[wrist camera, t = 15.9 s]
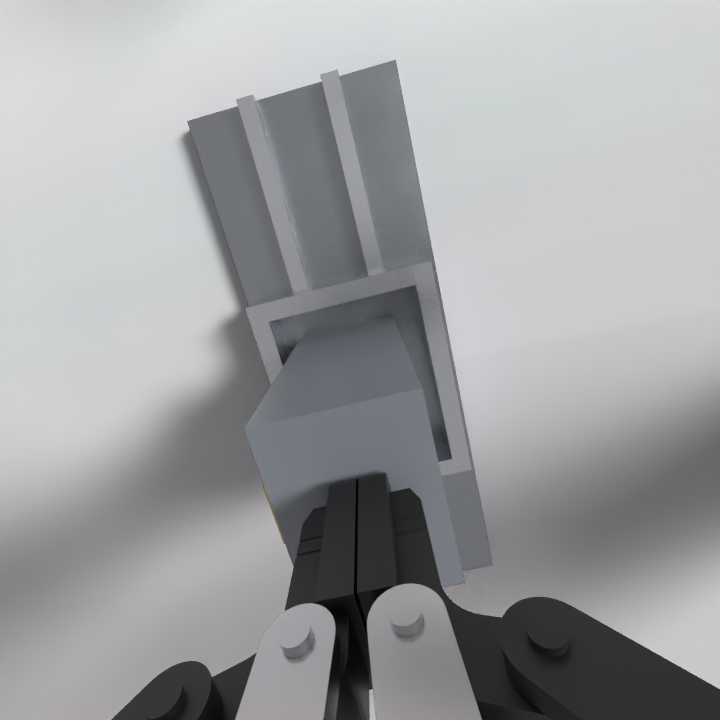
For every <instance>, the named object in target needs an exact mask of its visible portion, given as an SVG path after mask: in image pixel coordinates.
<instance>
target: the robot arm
mask: <svg viewBox="0 0 720 720" xmlns="http://www.w3.org/2000/svg"><path fill="white" fill-rule="evenodd" d="M299 541H300V544H298V549H297V558H296V559H295V564H294V569H293V574H292V578H291V583H290V588H289V593H288V598H287V603H286V607H285V612H283V613H282V614H281V615H279V616H278V617H277V618H276V619H275V620H274V621H273V622H272V623H271V624H270V625H269V627H268V628H267V630H266V631H265V633H264V635H263V637H262V639H261V641H260V644H259V647H258V650H257V653H256V654H254V655H253V656H251V657H250V658H248V659H246V660H245V661H243V662H241V663H239V664H237V665H235V666H233V667H231V668H229V669H227V670H225V671H224V672H222V673H220V674H218V675H216V676H214V677H212V676H211V674H210V672H209V670H208V669H207V667H206V666H205V665H203V664H202V663H200V662H197V661H188V662H183V663H179V664H177V665H174V666H172V667H170V668H169V669H167V670H165V671H164V672H162V673H161V674H159V675H158V676H157V677H156V678H154V679H153V680H152V681H151V682H150V683H149V684H148V685H147V686H146V687H145V688H144V689H143V690H142V691H141V692H140V693H139V694H138V695H136V696H135V697H134V698H133V699H132V700H131V701H130V702H129V703H128V704H127V705H126V706H125V707H124V708H123V709H122V710H121V711H120V712H119V713H118V714H117V715H116V716H115V717H114V718H113V719H112V720H369V719H370V715H369V690H370V689H373V696H374V706H375V717H376V720H720V689H718V688H716V687H715V686H713V685H711V684H709V683H707V682H706V681H704V680H702V679H700V678H699V677H697V676H695V675H693V674H691V673H690V672H688V671H686V670H684V669H683V668H681V667H679V666H677V665H675V664H674V663H672V662H670V661H668V660H667V659H665V658H663V657H661V656H659V655H658V654H656V653H654V652H652V651H651V650H649V649H647V648H645V647H643V646H642V645H640V644H638V643H636V642H635V641H633V640H631V639H629V638H627V637H626V636H624V635H622V634H620V633H619V632H617V631H615V630H613V629H611V628H610V627H608V626H606V625H604V624H603V623H601V622H599V621H597V620H595V619H594V618H592V617H590V616H588V615H587V614H585V613H583V612H581V611H579V610H578V609H576V608H574V607H572V606H571V605H568V604H566V603H564V602H562V601H559V600H556V599H552V598H547V597H531V598H527V599H523V600H521V601H518V602H516V603H515V604H513V605H512V606H511V607H510V608H509V609H508V610H507V611H506V612H505V614H504V615H503V618H501V617H494V616H486V615H480V614H475V613H472V612H469V611H466V610H464V609H462V608H460V607H459V606H458V605H456V604H455V603H453V602H452V601H451V600H450V599H449V598H448V596H447V595H446V594H445V592H444V590H443V588H442V586H441V582H440V577H439V573H438V569H437V565H436V560H435V556H434V552H433V548H432V543H431V539H430V535H429V531H428V527H427V523H426V519H425V514H424V510H423V506H422V502H421V499H420V498H419V497H418V496H417V495H416V494H415V493H414V492H413V491H412V490H411V489H410V488H407V489H402V490H397V491H393V492H391V488H390V485H389V481H388V477H387V474H386V472H385V473H381V474H376V475H372V476H367V477H363V478H359V480H358V479H354V480H349V481H345V482H340V483H336V484H331V485H330V486H329V492H328V499H327V506H323V507H319V508H314V509H313V510H312V511H311V513H310V514H309V516H308V517H307V519H306V520H305V522H304V523H303V525H302V530H301V535H300V540H299Z"/></svg>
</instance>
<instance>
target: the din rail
mask: <svg viewBox="0 0 720 720" xmlns="http://www.w3.org/2000/svg"><path fill="white" fill-rule="evenodd" d="M320 76H321V80H322V82H319V83H315V84H312V85H309V86H305V87H302V88H298V89H295V90H292V91H288V92H285V93H281V94H278V95H275V96H271V97H268V98H264V99H261V100H258V101H257V100H256V98H255V97H254V96H253V95H250V96H247V97H243V98H240V99H236V101H237V104H238V106H237V107H234V108H230V109H227V110H224V111H220V112H217V113H213V114H210V115H207V116H203V117H200V118H197V119H193V120H190V121H187V122H188V125H189V128H190V131H191V134H192V137H193V140H194V143H195V146H196V149H197V152H198V155H199V158H200V161H201V164H202V167H203V170H204V173H205V176H206V179H207V182H208V185H209V188H210V191H211V194H212V197H213V200H214V203H215V206H216V209H217V212H218V215H219V218H220V221H221V224H222V227H223V231H224V234H225V237H226V240H227V243H228V246H229V249H230V252H231V255H232V258H233V261H234V264H235V267H236V270H237V273H238V276H239V279H240V282H241V285H242V288H243V291H244V294H245V297H246V300H247V303H248V307H247V308H245V310H246V313H247V316H248V319H249V322H250V325H251V328H252V331H253V334H254V337H255V340H256V343H257V346H258V349H259V352H260V355H261V358H262V361H263V364H264V367H265V370H266V373H267V376H268V378H269V381H270V384H272V383H273V381H274V380H275V378H276V377H277V375H278V373H279V372H280V370H281V369H282V367H283V366H284V364H285V362H286V361H287V359H288V358H289V356H290V354H291V353H292V351H293V350H294V348H295V347H296V345H297V343H298V342H299V340H300V339H301V337H302V336H306V335H310V334H314V333H318V332H322V331H326V330H330V329H334V328H338V327H343V326H347V325H351V324H355V323H359V322H363V321H367V320H371V319H375V318H379V317H383V316H387V315H392V316H393V318H394V321H395V323H396V326H397V328H398V331H399V333H400V335H401V338H402V340H403V343H404V345H405V347H406V350H407V352H408V355H409V357H410V360H411V362H412V364H413V367H414V369H415V372H416V374H417V376H418V379H419V381H420V384H421V386H422V389H423V394H424V398H425V403H426V407H427V412H428V417H429V421H430V426H431V430H432V435H433V439H434V444H435V449H436V453H437V458H438V462H439V467H440V471H441V476H442V481H443V485H444V490H445V494H446V499H447V504H448V508H449V513H450V517H451V522H452V526H453V531H454V536H455V540H456V545H457V549H458V554H459V558H460V563H461V568H462V571H465V570H470V569H475V568H480V567H485V566H491V565H493V564H492V559H491V553H490V548H489V543H488V538H487V533H486V527H485V522H484V517H483V512H482V507H481V501H480V496H479V491H478V486H477V481H476V475H475V470H474V465H473V460H472V455H471V449H470V444H469V439H468V434H467V429H466V423H465V418H464V413H463V408H462V403H461V397H460V392H459V387H458V382H457V377H456V371H455V366H454V361H453V356H452V351H451V345H450V340H449V335H448V330H447V324H446V319H445V314H444V309H443V304H442V298H441V293H440V288H439V283H438V278H437V272H436V267H435V262H434V257H433V252H432V246H431V241H430V236H429V231H428V226H427V220H426V215H425V210H424V205H423V200H422V194H421V189H420V184H419V179H418V174H417V168H416V163H415V158H414V153H413V148H412V142H411V137H410V132H409V127H408V122H407V116H406V111H405V106H404V101H403V96H402V90H401V85H400V80H399V75H398V69H397V64H396V60H393V61H390V62H387V63H383V64H380V65H376V66H373V67H370V68H366V69H363V70H359V71H356V72H353V73H349V74H346V75H342V76H339V74H338V70H334V71H331V72H328V73H324V74H321V75H320Z"/></svg>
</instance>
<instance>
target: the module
mask: <svg viewBox="0 0 720 720" xmlns="http://www.w3.org/2000/svg"><path fill="white" fill-rule="evenodd" d="M243 430H244V432H245V435H246V438H247V441H248V443H249V446H250V449H251V452H252V454H253V457H254V460H255V462H256V465H257V468H258V471H259V473H260V476H261V479H262V482H263V488H264V491H265V493H266V496H267V499H268V502H269V504H270V507H271V510H272V512H273V515H274V518H275V521H276V523H277V526H278V529H279V532H280V534H281V537H282V540H283V542H284V544H286V547H287V550H288V553H289V555H290V558H291V561H292V563H293V566H294V564H295V559H296V558H297V549H298V544H300V541H299V540H300V535H301V530H302V525H303V523H304V522H305V520H306V519H307V517H308V516H309V514H310V513H311V511H312V510H313V509H314V508H319V507H323V506H327V499H328V492H329V486H330V485H331V484H336V483H340V482H345V481H349V480H354V479H358V480H359V478H363V477H367V476H372V475H376V474H381V473H385V472H386V474H387V477H388V481H389V485H390V488H391V492H393V491H397V490H402V489H407V488H410V489H411V490H412V491H413V492H414V493H415V494H416V495H417V496H418V497H419V498H420V499H421V502H422V506H423V510H424V514H425V519H426V523H427V527H428V531H429V535H430V539H431V543H432V548H433V552H434V556H435V560H436V565H437V569H438V573H439V577H440V582H441V586H442V587H446V586H452V585H457V584H462V583H465V581H464V577H463V572H462V568H461V563H460V558H459V554H458V549H457V545H456V540H455V536H454V531H453V526H452V522H451V517H450V513H449V508H448V504H447V499H446V494H445V490H444V485H443V481H442V476H441V471H440V467H439V462H438V458H437V453H436V449H435V444H434V439H433V435H432V430H431V426H430V421H429V417H428V412H427V407H426V403H425V398H424V394H423V389H422V386H421V384H420V381H419V379H418V376H417V374H416V372H415V369H414V367H413V364H412V362H411V360H410V357H409V355H408V352H407V350H406V347H405V345H404V343H403V340H402V338H401V335H400V333H399V331H398V328H397V326H396V323H395V321H394V318H393V316H392V315H387V316H383V317H379V318H375V319H371V320H367V321H363V322H359V323H355V324H351V325H347V326H343V327H338V328H334V329H330V330H326V331H322V332H318V333H314V334H310V335H306V336H302V337H301V339H300V340H299V342H298V343H297V345H296V347H295V348H294V350H293V351H292V353H291V354H290V356H289V358H288V359H287V361H286V362H285V364H284V366H283V367H282V369H281V370H280V372H279V373H278V375H277V377H276V378H275V380H274V381H273V383H272V384H271V386H270V388H269V389H268V391H267V392H266V394H265V396H264V397H263V399H262V400H261V402H260V403H259V405H258V407H257V408H256V410H255V411H254V413H253V415H252V416H251V418H250V419H249V421H248V422H247V424H246V426H245V427H244V429H243Z"/></svg>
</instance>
